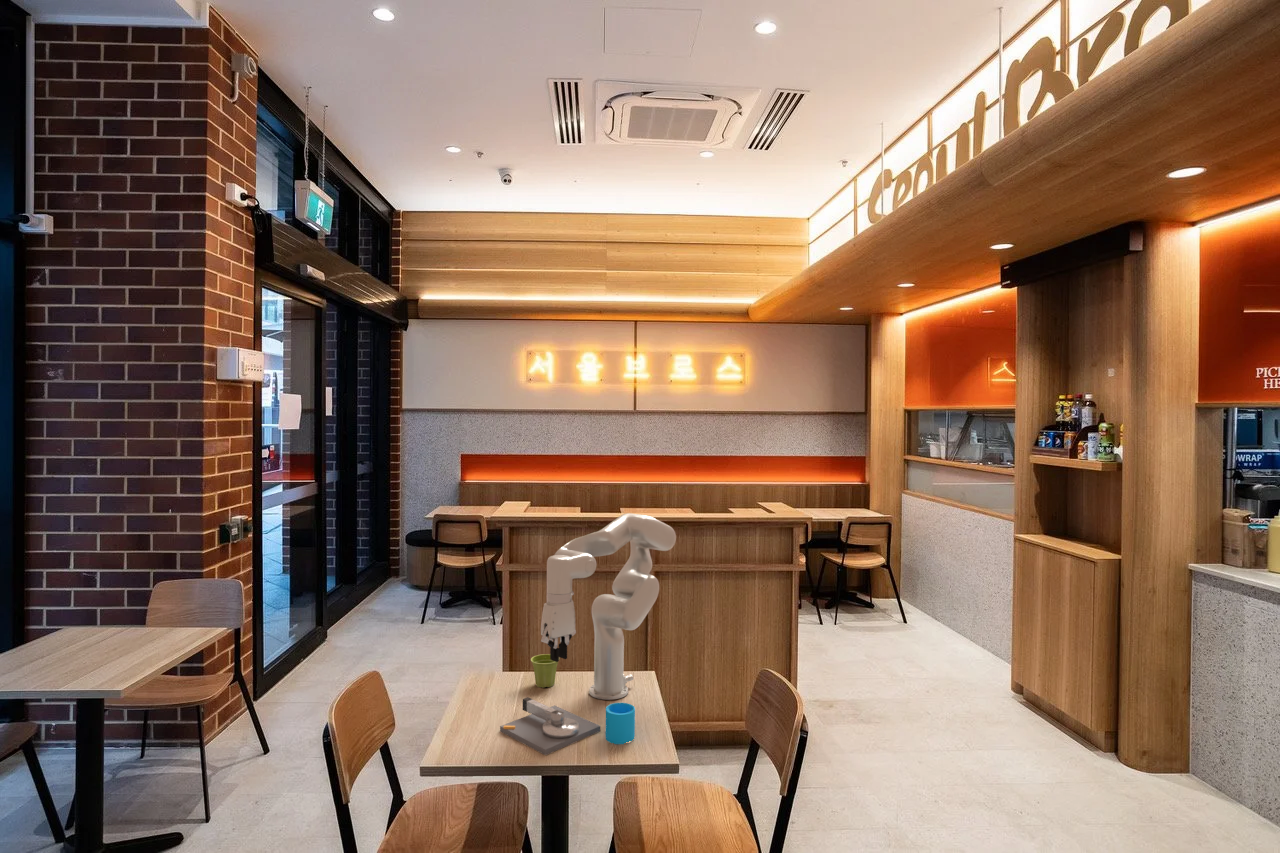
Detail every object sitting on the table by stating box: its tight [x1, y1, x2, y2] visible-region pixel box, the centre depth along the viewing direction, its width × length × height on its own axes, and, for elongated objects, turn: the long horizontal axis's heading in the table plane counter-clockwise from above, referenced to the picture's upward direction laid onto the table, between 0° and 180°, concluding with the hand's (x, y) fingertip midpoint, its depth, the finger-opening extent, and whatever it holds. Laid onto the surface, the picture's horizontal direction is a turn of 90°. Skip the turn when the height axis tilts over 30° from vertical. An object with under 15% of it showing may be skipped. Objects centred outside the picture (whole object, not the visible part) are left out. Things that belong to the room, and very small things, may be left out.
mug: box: [604, 702, 636, 745], centre depth 198 cm, size 12×8×8 cm
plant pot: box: [530, 653, 559, 689], centre depth 234 cm, size 9×9×9 cm
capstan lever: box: [521, 696, 579, 739], centre depth 200 cm, size 10×21×5 cm, turn 47°
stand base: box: [499, 705, 601, 756], centre depth 199 cm, size 20×20×2 cm
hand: (558, 658), depth 209 cm, fingers open, 2 cm apart
